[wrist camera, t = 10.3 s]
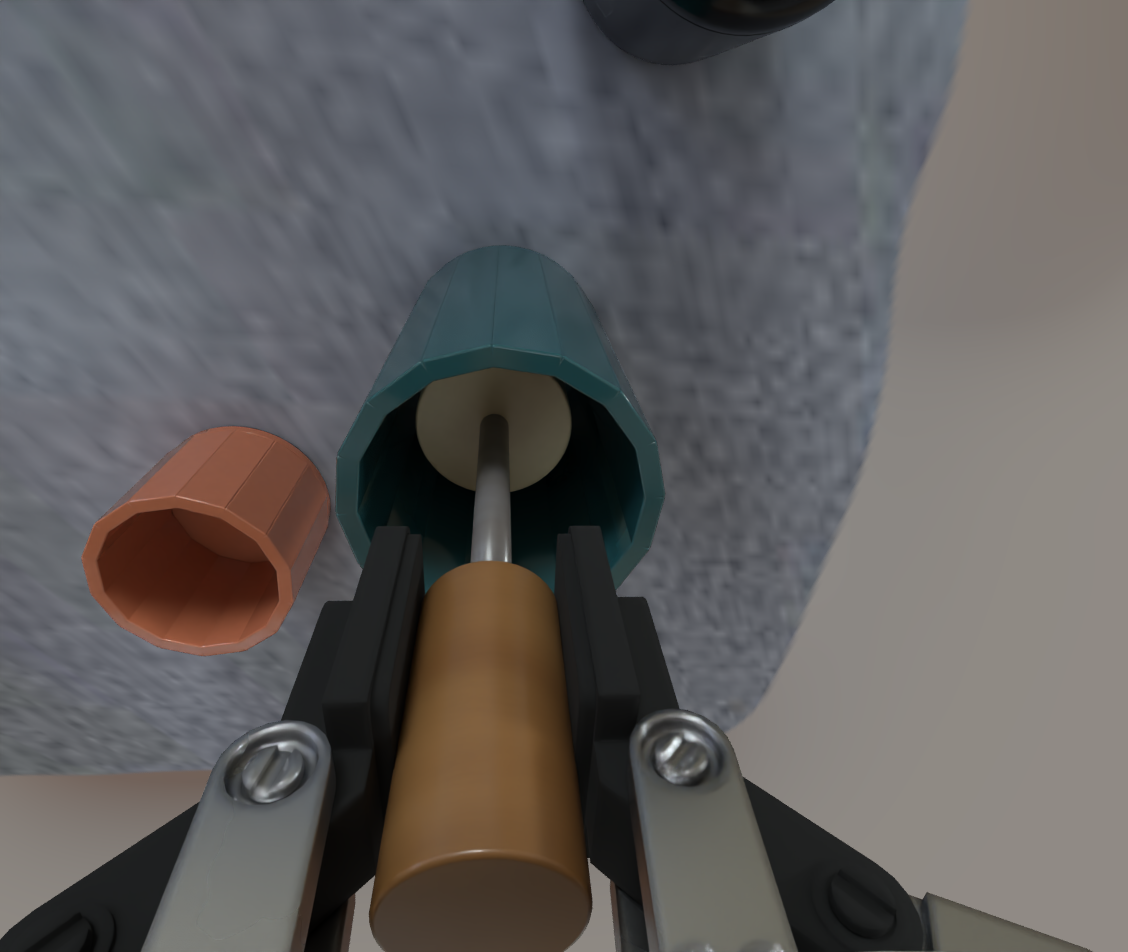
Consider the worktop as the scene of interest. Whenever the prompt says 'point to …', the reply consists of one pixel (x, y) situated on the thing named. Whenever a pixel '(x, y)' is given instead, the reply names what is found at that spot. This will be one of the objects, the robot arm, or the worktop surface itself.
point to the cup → (520, 343)
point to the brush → (486, 706)
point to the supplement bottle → (693, 25)
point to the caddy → (210, 542)
